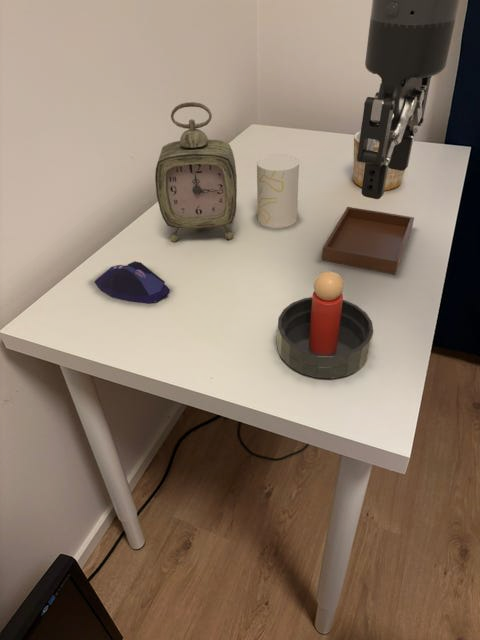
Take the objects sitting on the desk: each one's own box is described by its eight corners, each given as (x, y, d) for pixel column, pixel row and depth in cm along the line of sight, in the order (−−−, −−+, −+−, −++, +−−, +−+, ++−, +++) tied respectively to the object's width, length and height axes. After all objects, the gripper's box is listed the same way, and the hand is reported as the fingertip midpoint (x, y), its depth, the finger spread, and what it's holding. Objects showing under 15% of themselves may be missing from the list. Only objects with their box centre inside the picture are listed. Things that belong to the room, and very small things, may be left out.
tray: (346, 218, 100) (347, 206, 98) (411, 229, 96) (414, 217, 94) (321, 260, 88) (322, 247, 87) (395, 274, 84) (397, 262, 82)
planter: (339, 185, 113) (343, 139, 106) (365, 167, 120) (371, 124, 113) (389, 198, 106) (397, 151, 100) (414, 179, 113) (423, 134, 107)
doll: (331, 334, 72) (339, 263, 64) (341, 352, 68) (350, 280, 61) (305, 338, 71) (309, 267, 63) (314, 357, 68) (320, 285, 60)
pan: (348, 313, 76) (351, 290, 73) (384, 371, 66) (389, 347, 63) (268, 327, 74) (268, 303, 71) (292, 388, 64) (293, 364, 61)
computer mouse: (122, 261, 90) (117, 242, 88) (186, 283, 84) (183, 264, 81) (85, 286, 84) (80, 267, 82) (151, 312, 78) (147, 292, 75)
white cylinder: (249, 217, 102) (248, 161, 94) (279, 206, 105) (279, 151, 98) (275, 232, 97) (275, 174, 89) (304, 219, 100) (307, 162, 93)
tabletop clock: (164, 246, 94) (143, 111, 78) (169, 224, 101) (150, 96, 85) (239, 243, 94) (232, 108, 78) (238, 221, 101) (233, 92, 85)
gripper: (433, 29, 38) (398, 215, 48) (473, 4, 47) (435, 165, 58) (344, 24, 41) (328, 200, 52) (397, 1, 50) (374, 155, 61)
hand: (385, 181), depth 55 cm, fingers open, 8 cm apart
